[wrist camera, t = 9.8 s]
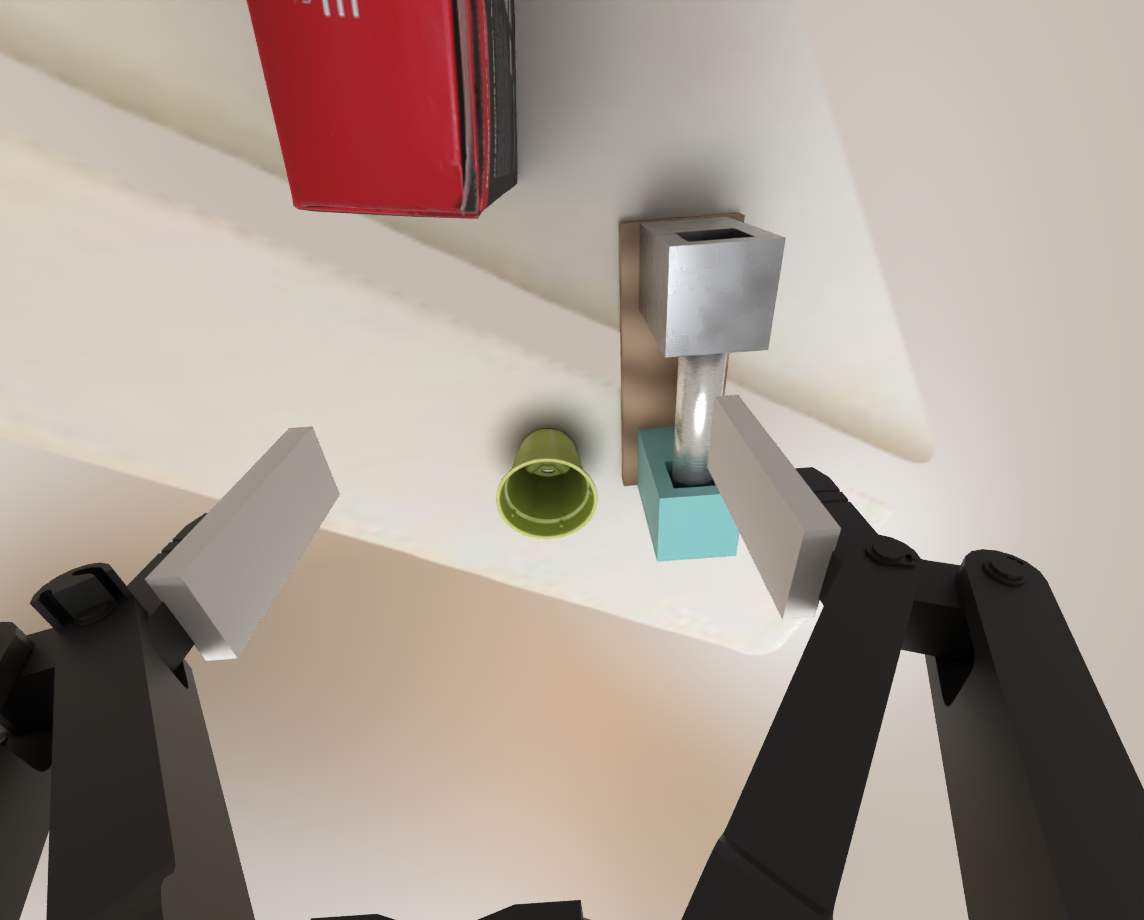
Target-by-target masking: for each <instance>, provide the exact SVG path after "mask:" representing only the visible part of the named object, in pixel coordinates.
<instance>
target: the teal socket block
mask: <svg viewBox="0 0 1144 920" xmlns="http://www.w3.org/2000/svg"><path fill="white" fill-rule="evenodd" d="M674 431H675V426H671V427H658V428H644V429H638V489H639V493H640V496H641V500H642V504H643V508H644V512H645V516H646V520H647V524H648V527H649V531H650V535H651V539H652V543H653V547H654V551H655V555H656V559H657V561H670V560H684V559H698V558H712V557H725V556H736V551H737V545H738V539H739V530H738V528H737V526H736V524H735V522H734V520H733V518H732V516H731V514H730V512H729V510H728V508H727V506H726V504H725V502H724V500H723V498H722V496H721V494H720V492H719V490H718V488H717V486H716V484H715V482H714V480H713V485H712V486H703V487H690V488H676V489H674V488H673V485H672V467H673V449H674Z"/></svg>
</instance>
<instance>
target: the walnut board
mask: <svg viewBox="0 0 1144 920" xmlns="http://www.w3.org/2000/svg"><path fill="white" fill-rule="evenodd" d="M713 217H729V218H732V219H735V220H737V221H740V222H743V223H744V217H745V215H743V214H740V213H734V214H721V215H708V216H695V217H682V218H669V219H656V220H642V221H629V222H619V256H620V338H621V420H622V480H623V484H624V486H630V485H638V429H644V428H658V427H671V426H675V412H676V394H677V375H678V357H666V358H665V356H664V354H663V353H662V351H661V349H660V347H659V345H658V344H657V342H656V340H655V338H654V336H653V335H652V333H651V331H650V329H649V327H648V326H647V324H646V322H645V320H644V318H643V317H642V315H641V313H640V311H639V253H640V223H647V222H660V221H674V220H687V219H700V218H713ZM728 359H729V353H727V357H726V366H725V376H724V385H723V394H722V396H724V394H725V386H726V377H727V368H728Z"/></svg>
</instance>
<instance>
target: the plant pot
mask: <svg viewBox="0 0 1144 920" xmlns="http://www.w3.org/2000/svg"><path fill="white" fill-rule="evenodd" d="M542 470H554V472H551V473H545V472H542ZM597 502H598V495H597V490H596V487H595V484H594V482H593V481H592V479H591V478H590V476H589V475H588V474H587V473H586V472H585V471H584V470H583V468H582V465H581V462H580V459H579V456H578V453H577V451H576V448H575V445H574V443H573V441H572V440H571V439H570V438H569V437H568V436H566V435H565V434H564V433H563V432H561V431H558V430H555V429H540V430H537V431H534V432H533V433H531V434H530V435H529V436H528V437H526V438H525V439H524V440H523V442H522V444H521V446H520V449H519V451H518V454H517V457H516V459H515V462H514V464H513V467H512V469H511V470H510V471H509V472H508V473H507V474H506V475H505V476H504V477H503V479H502V480H501V482H500V484H499V486H498V490H497V495H496V503H497V508H498V511H499V513H500V515H501V517H502V518H503V520H504V521H505V522H506V523H507V524H508V525H509V526H510V527H511V528H512V529H514V530H515V531H517V532H519V533H521V534H523V535H526V536H529V537H533V538H538V539H555V538H561V537H564V536H567V535H570V534H572V533H574V532H576V531H578V530H579V529H581V528H583V527H584V526H585V525H586V524H587V523H588V522H589V521H590V520H591V518H592V517H593V515H594V513H595V511H596V508H597Z"/></svg>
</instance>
